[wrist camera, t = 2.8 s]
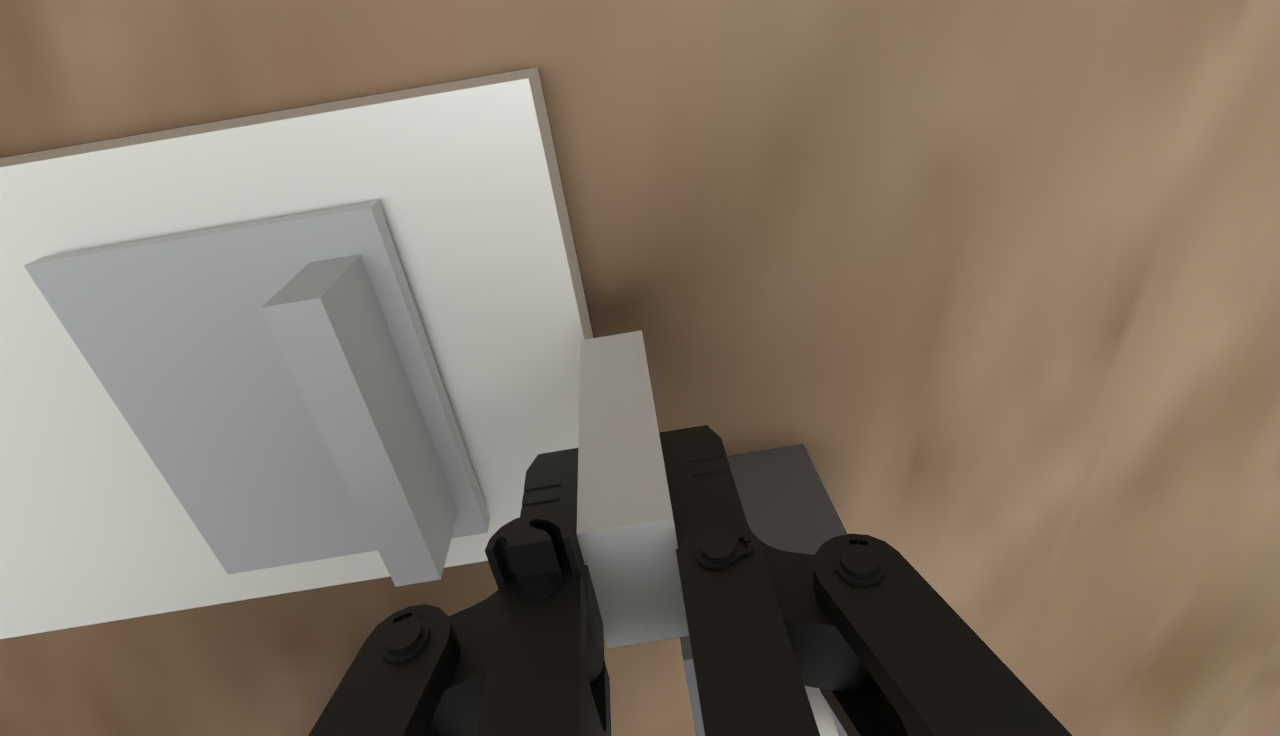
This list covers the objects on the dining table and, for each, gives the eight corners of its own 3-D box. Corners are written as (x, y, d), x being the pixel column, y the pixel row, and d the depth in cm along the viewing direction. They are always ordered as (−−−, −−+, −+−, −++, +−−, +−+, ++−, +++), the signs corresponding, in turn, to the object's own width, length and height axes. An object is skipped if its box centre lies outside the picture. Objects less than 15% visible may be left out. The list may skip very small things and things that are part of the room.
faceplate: (40, 574, 24) (-26, 643, 21) (-279, 205, 17) (-436, 240, 14) (622, 479, 24) (626, 538, 21) (537, 67, 17) (528, 78, 14)
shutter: (237, 559, 20) (180, 649, 17) (42, 256, 15) (-81, 313, 12) (490, 518, 20) (474, 601, 17) (378, 200, 15) (330, 244, 12)
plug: (670, 555, 26) (711, 833, 17) (655, 467, 24) (694, 736, 15) (805, 533, 26) (916, 801, 17) (802, 444, 24) (928, 699, 15)
